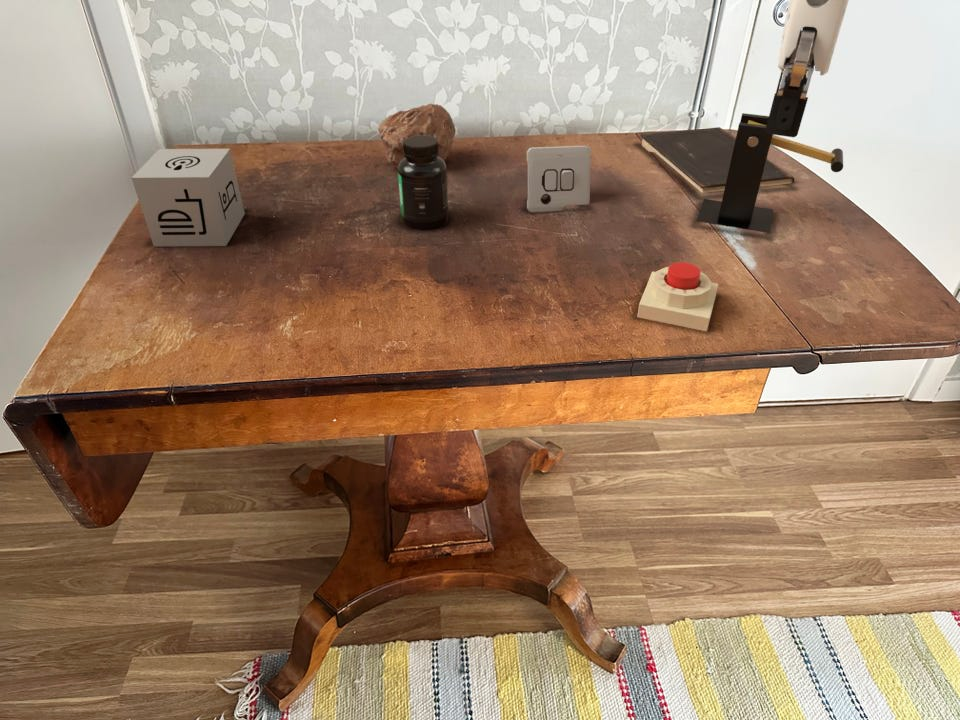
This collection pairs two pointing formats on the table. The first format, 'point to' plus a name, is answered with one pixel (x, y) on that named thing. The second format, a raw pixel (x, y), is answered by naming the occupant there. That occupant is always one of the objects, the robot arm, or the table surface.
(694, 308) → the switch box
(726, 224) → the bracket
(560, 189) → the electrical switch
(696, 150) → the hardcover book
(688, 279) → the button
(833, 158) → the lever
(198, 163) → the icon cube
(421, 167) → the supplement bottle
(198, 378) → the table surface
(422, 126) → the decorative rock
